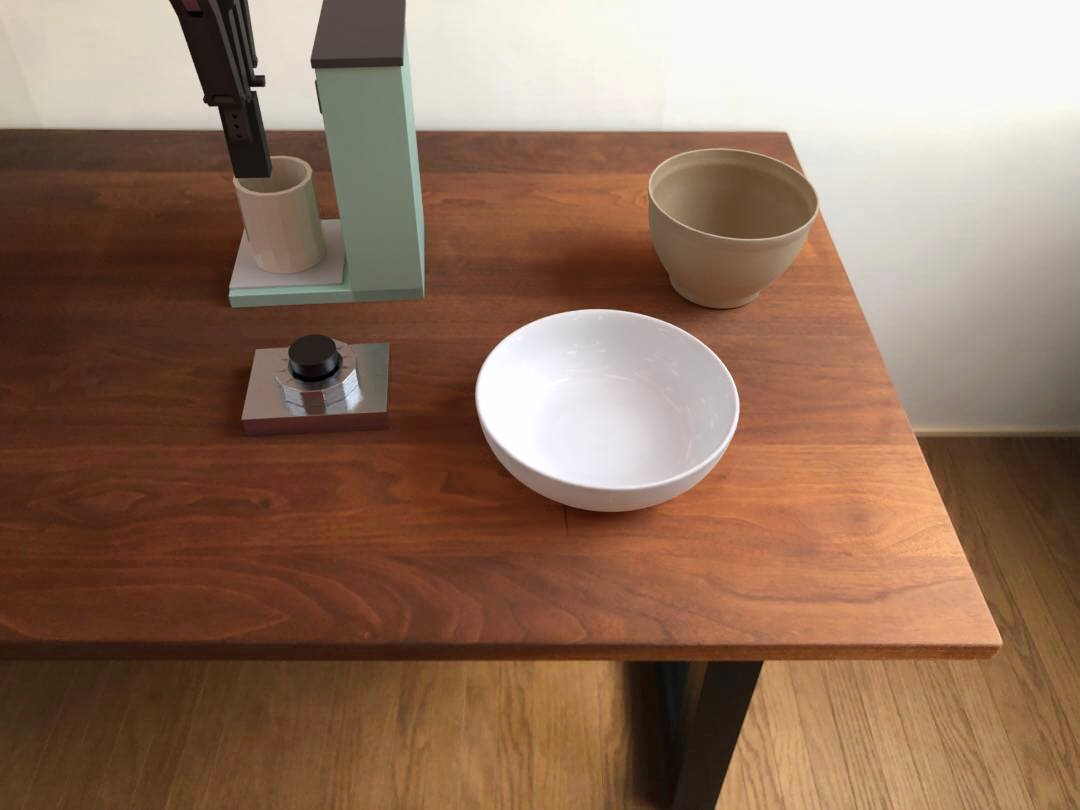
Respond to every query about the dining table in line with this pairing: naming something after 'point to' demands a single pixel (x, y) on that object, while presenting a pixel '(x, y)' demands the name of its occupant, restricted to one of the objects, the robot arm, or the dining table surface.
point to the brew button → (313, 358)
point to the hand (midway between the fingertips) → (254, 172)
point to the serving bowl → (606, 408)
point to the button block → (319, 393)
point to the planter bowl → (728, 222)
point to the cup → (282, 217)
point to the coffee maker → (358, 168)
